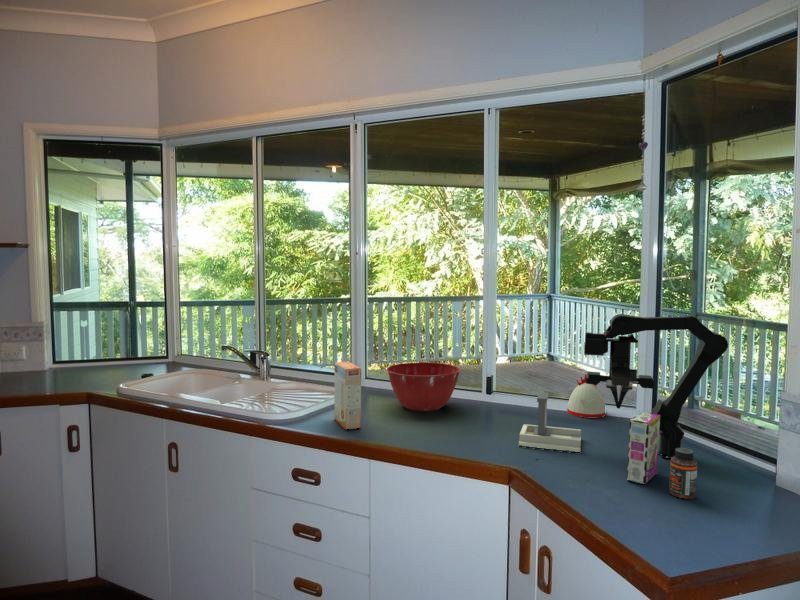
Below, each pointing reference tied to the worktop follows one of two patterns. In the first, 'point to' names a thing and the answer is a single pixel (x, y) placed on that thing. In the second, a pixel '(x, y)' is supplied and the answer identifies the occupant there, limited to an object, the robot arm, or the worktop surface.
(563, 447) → the tray
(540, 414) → the slide lever
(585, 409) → the kitchen timer
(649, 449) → the candy bar box
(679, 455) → the supplement bottle
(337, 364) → the cracker box
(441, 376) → the mixing bowl
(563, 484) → the worktop surface
